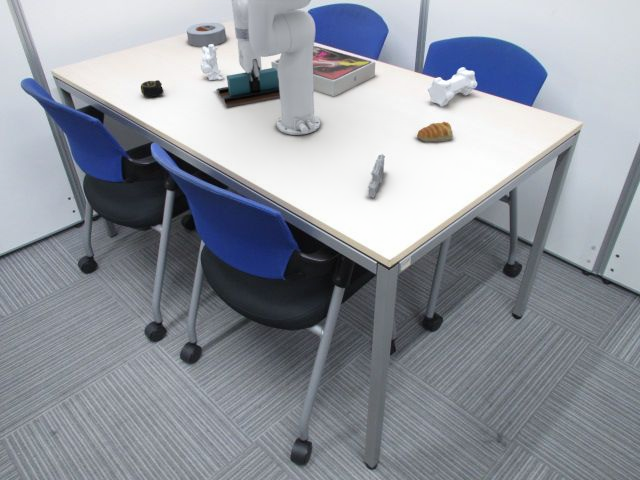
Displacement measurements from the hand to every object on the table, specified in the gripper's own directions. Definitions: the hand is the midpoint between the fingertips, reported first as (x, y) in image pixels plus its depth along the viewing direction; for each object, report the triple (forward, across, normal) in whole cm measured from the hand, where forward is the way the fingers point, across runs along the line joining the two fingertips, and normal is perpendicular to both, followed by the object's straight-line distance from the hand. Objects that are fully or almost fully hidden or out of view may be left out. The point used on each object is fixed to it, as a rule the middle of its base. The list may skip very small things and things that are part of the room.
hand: (253, 89), depth 173 cm
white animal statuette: (+2, -19, -9) cm, 21 cm away
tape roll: (+2, -60, -2) cm, 60 cm away
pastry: (+1, +51, +37) cm, 63 cm away
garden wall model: (+1, +66, +11) cm, 67 cm away
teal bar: (+1, 0, 0) cm, 1 cm away
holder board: (+1, 0, 0) cm, 1 cm away
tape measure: (+2, -14, -30) cm, 33 cm away
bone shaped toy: (+1, +31, +55) cm, 63 cm away
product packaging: (+2, -4, +26) cm, 26 cm away
